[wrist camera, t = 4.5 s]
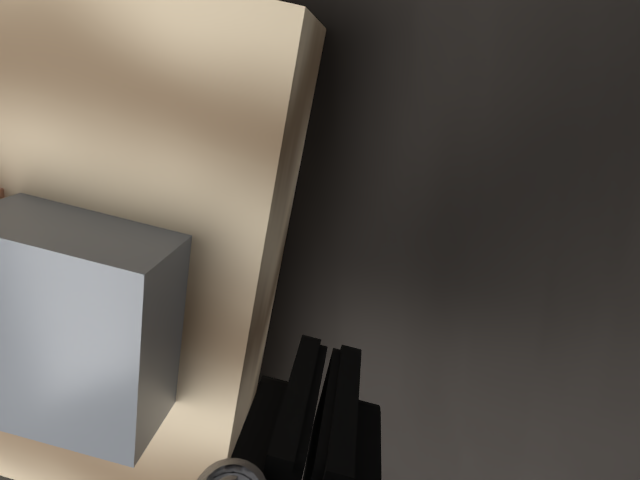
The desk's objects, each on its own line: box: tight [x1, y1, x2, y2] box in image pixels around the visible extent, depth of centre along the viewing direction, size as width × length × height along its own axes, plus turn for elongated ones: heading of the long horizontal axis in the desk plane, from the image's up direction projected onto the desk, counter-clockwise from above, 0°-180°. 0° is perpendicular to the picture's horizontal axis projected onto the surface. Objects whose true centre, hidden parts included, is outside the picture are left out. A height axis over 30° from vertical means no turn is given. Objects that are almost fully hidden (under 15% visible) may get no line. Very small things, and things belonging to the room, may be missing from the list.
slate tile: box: [0, 193, 192, 468], centre depth 11 cm, size 6×5×2 cm
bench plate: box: [0, 0, 326, 480], centre depth 14 cm, size 18×14×4 cm
